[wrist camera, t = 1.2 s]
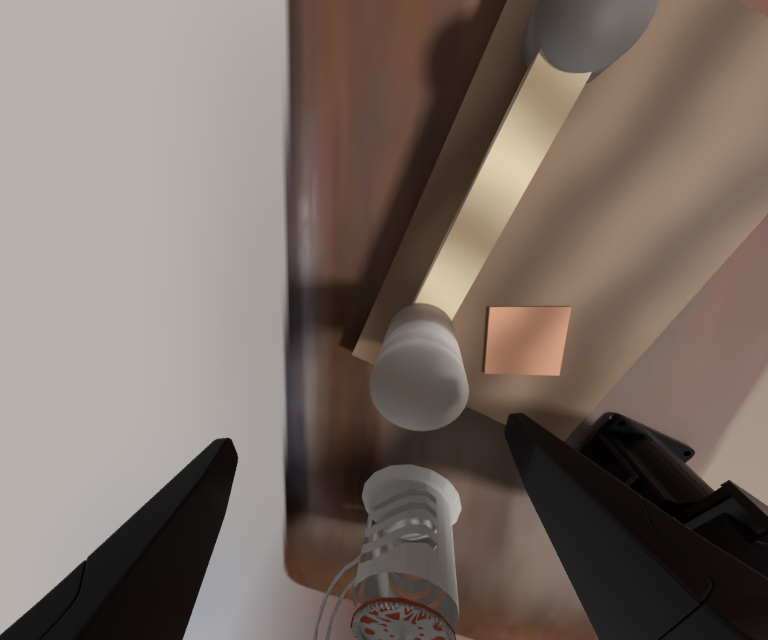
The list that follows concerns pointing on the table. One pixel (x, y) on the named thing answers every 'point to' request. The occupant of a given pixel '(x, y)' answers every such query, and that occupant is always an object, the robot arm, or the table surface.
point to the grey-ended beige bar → (496, 202)
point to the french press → (405, 557)
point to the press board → (597, 210)
